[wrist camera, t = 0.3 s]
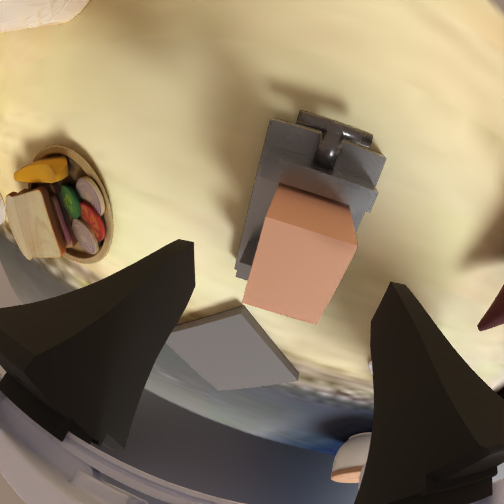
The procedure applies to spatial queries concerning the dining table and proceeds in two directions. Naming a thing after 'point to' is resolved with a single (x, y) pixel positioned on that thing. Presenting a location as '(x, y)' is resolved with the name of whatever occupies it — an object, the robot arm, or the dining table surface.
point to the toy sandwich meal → (61, 208)
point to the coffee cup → (2, 210)
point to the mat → (231, 351)
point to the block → (301, 254)
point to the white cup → (37, 13)
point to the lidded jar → (351, 458)
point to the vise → (311, 172)
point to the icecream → (493, 313)
